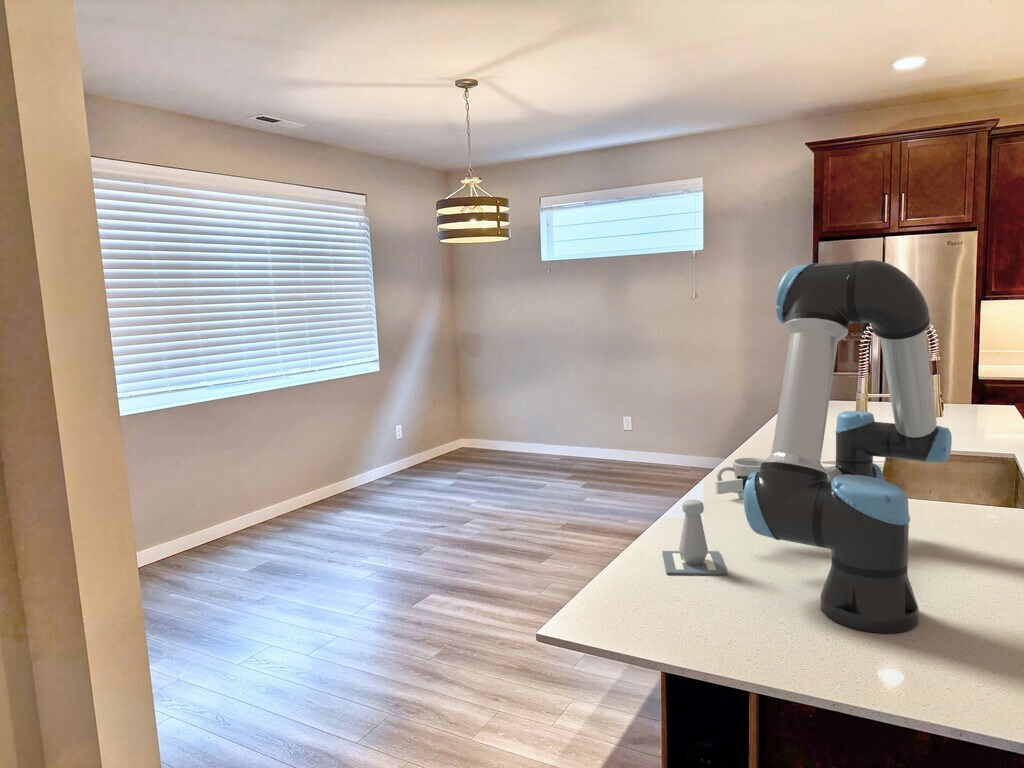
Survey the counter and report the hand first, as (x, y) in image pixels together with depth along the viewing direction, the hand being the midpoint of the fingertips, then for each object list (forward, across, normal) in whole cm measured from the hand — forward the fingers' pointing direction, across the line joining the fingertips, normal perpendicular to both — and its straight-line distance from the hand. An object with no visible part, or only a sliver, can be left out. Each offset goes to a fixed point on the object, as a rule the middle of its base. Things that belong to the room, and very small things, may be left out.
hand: (734, 495), depth 148 cm
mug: (-28, +35, -13) cm, 47 cm away
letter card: (+10, 0, -14) cm, 17 cm away
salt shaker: (+10, 0, -13) cm, 17 cm away
